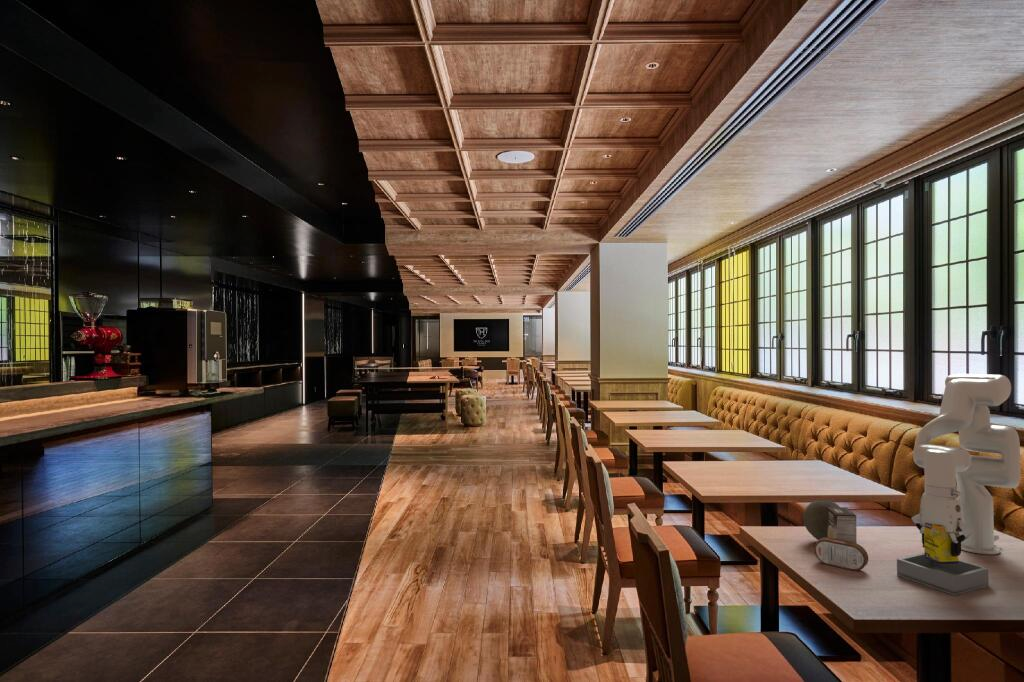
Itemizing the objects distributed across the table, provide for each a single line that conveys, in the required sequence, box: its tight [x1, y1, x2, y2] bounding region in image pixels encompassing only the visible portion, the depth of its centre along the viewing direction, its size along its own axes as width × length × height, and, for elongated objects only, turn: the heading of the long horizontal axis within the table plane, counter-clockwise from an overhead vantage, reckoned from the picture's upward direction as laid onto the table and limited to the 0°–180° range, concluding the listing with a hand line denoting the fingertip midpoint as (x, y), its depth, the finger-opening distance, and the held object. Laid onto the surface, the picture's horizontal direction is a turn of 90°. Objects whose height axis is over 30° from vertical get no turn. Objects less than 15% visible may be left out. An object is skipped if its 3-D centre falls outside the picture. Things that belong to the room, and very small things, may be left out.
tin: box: [813, 537, 869, 572], centre depth 186 cm, size 15×3×8 cm, turn 47°
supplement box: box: [923, 523, 959, 565], centre depth 174 cm, size 6×6×11 cm
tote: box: [896, 552, 990, 596], centre depth 174 cm, size 16×16×5 cm
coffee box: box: [827, 506, 858, 544], centre depth 192 cm, size 9×6×16 cm
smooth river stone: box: [802, 499, 841, 541], centre depth 208 cm, size 14×14×15 cm
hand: (941, 550), depth 174 cm, fingers closed on supplement box, 7 cm apart
